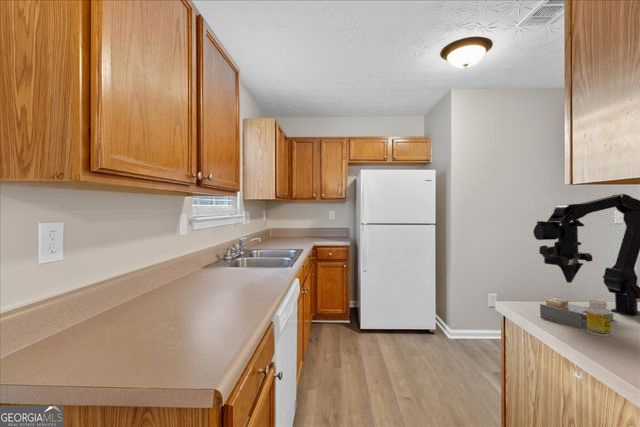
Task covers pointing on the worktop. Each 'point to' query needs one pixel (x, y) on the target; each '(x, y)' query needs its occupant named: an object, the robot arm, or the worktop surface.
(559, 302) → the maple block
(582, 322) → the trap board
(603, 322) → the supplement bottle
